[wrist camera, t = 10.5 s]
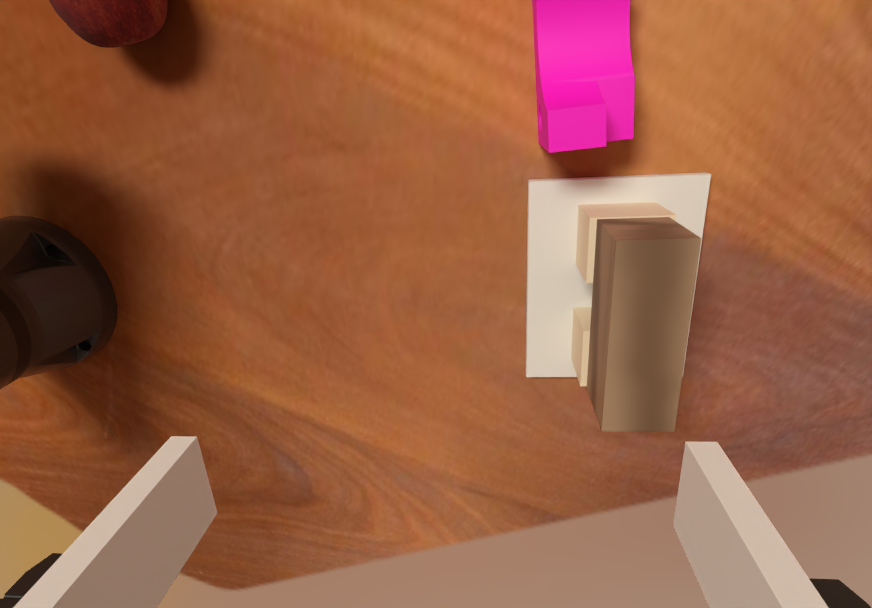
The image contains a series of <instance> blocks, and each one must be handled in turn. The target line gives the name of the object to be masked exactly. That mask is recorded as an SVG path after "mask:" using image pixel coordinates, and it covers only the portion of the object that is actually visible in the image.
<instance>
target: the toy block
mask: <svg viewBox="0 0 872 608" xmlns="http://www.w3.org/2000/svg"><path fill="white" fill-rule="evenodd" d="M532 3H533V26H534V48H535V71H536V93H537V116H538V138H539V144H540V145H541V146H542V147H543V148H544V149H545V150H546V151H548V152H549V153H552V152H561V151H570V150H579V149H588V148H597V147H606V142H608V141H616V140H625V139H633V138H634V86H635V76H634V71H633V66H632V59H631V49H630V0H532Z"/></svg>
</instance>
